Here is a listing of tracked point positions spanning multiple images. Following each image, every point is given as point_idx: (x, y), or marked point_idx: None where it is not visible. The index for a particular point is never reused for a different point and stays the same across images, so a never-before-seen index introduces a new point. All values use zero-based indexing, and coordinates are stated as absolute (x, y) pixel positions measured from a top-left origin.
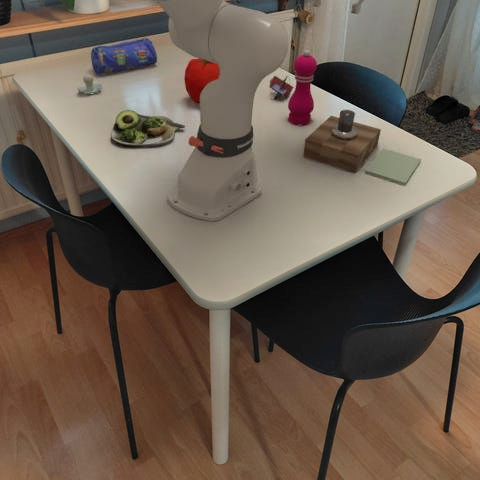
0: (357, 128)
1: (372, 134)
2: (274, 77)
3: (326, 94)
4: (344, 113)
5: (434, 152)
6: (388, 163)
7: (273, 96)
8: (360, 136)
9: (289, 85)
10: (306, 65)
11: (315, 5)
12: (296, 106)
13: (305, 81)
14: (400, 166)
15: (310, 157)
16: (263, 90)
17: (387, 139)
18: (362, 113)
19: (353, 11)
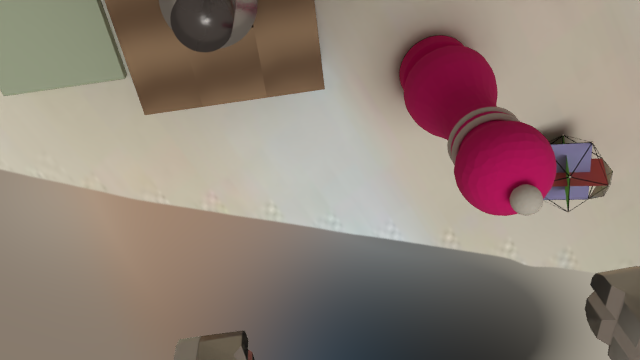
0: (202, 67)
1: (139, 64)
2: (606, 181)
3: (439, 245)
4: (208, 10)
5: (25, 165)
6: (45, 2)
7: (570, 139)
8: (157, 22)
9: None
10: (491, 147)
11: (628, 271)
12: (452, 56)
13: (465, 117)
14: (8, 12)
15: None
16: (614, 156)
17: (163, 143)
18: (304, 220)
19: (217, 342)
